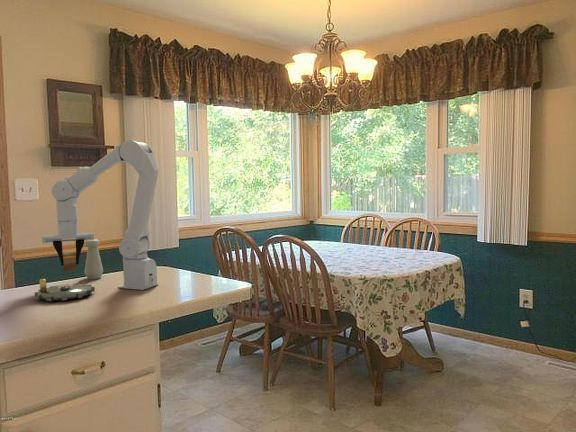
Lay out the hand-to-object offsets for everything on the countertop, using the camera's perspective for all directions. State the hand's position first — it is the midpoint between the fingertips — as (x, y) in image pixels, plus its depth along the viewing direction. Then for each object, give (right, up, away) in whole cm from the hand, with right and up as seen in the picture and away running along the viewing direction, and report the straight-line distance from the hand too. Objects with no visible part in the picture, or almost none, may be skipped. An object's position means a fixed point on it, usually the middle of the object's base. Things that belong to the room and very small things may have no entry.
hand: (70, 264), depth 151 cm
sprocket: (+4, -8, -13) cm, 16 cm away
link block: (0, -2, 0) cm, 2 cm away
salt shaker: (+2, -6, +12) cm, 14 cm away
